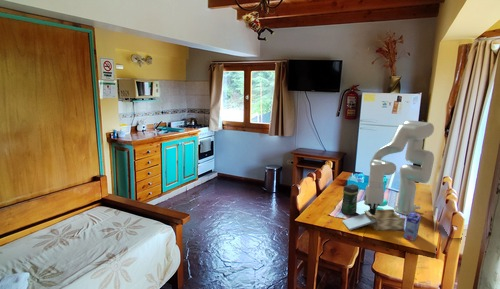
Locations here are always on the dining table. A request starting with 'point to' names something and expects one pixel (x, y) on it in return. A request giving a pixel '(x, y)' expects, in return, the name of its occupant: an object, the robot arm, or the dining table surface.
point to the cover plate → (359, 220)
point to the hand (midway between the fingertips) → (372, 213)
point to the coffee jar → (350, 199)
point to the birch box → (387, 220)
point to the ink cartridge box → (412, 226)
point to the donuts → (382, 205)
